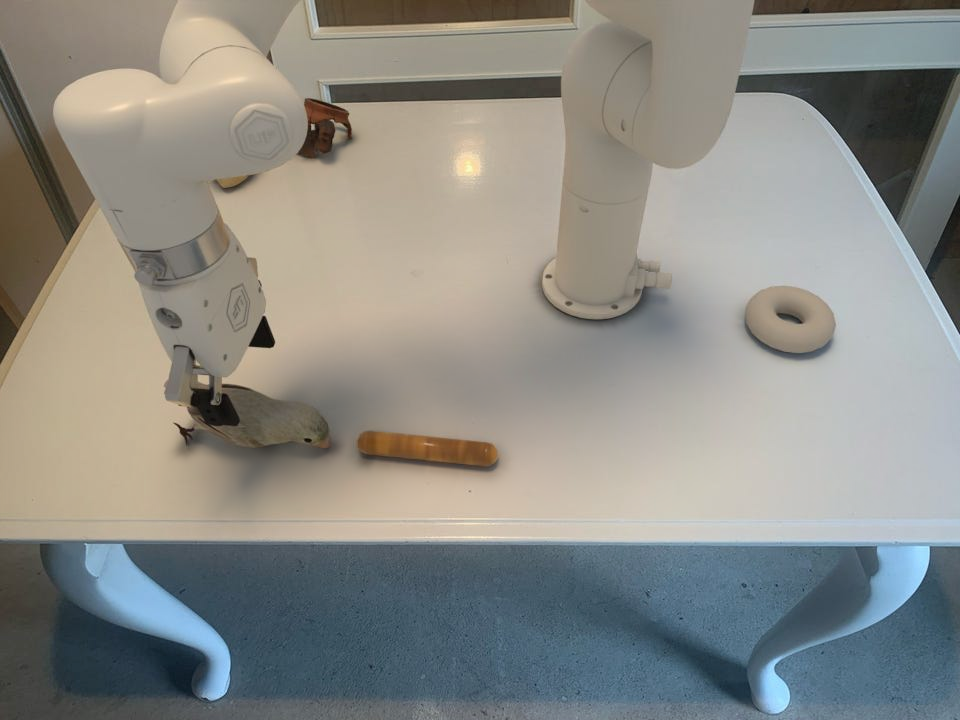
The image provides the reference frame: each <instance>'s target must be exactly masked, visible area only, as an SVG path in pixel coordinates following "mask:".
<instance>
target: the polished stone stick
mask: <svg viewBox="0 0 960 720" xmlns="http://www.w3.org/2000/svg"><path fill="white" fill-rule="evenodd" d="M356 445H357V448H358V451H360V452H361V453H363V454H365V455H369V456H380V457H390V458H399V459H400V458H401V459H409V460H420V461H430V462H439V463H449V464H459V465H460V464H461V465H469V466H479V467H490V466H492V465H493V464H495V463H496V462H497V460H498V456H499V452H498V449H497V447H496V446H495V444H494V443H491V442H488V441H479V440H469V439H459V438H448V437H438V436H430V435H429V436H428V435H418V434H410V433H409V434H407V433H397V432H387V431H379V430H378V431H377V430H365V431H363V432H362V433H360V434H359V436H358V438H357V440H356Z"/></svg>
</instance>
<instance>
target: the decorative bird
mask: <svg viewBox="0 0 960 720" xmlns="http://www.w3.org/2000/svg"><path fill="white" fill-rule="evenodd" d="M167 383H168V379H167V380H166V381H165V382H164V384H163V388H165V389H164V391H163V395H165V393H166V388H167ZM198 389H209V383H207V384H205V383H202V382H200V381H198ZM222 393H225V394H227V395H228V396H229V398H230V400H231V402H232V404H233V406H234V408H235V410H236V412H237V414H238V416H239V419H240V422H239V424H238V426H226V425H223V426H212V425H210V424H208V423H206V422H205V421H204V419H203V418H202V416H201V414H200V412H199V411H198V409H197V407H186V410H187V412H188V414H189V416H190V418H192V421H193V422H194V423H195V424H194V425H193V426H192V427H191V428H186V427H182V425H180V424H179V423H178V422H177V423H176V422H173V424H174V425H175V426H176V427H177V428H178V430H179V434H180V435H181V436H182V437H183V439H184V441H185V446H186V447H187V445H188V442H189V440H188V438H190V439H191V441H193V440H194V439H193V436H192V434H190V433H191V432H192V433H193V432H194V431H195V430H204V431H209V432H210V433H212V434H213V435H215V436H217V437H218V438H220V439H222V440H224V441H227V442H229V443H231V444H234V445H237V446H240V447H245V448H260V447H266V446H270V445H271V446H272V445H274V444H275V445H278V444H284V443H288V442H295V443H298V444H302V445H309V446H313V447H317V448H320V449H328V448H330V445H331V435H330V427H329V424H328V422H327V420H326V419H325V417H324V416H323V415H322V413H320V411H318V410H317V409H316V408H314V407H313V406H311V405H309V404H305V403H302V402H295V401H289V400H281V399H277V398H276V399H275V398H272V397H270V396H268V395H265V394H264V393H262V392H260V391H257V390H255V389H252V388H250V387H247V386H243V385H239V384H232V383H222Z"/></svg>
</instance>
